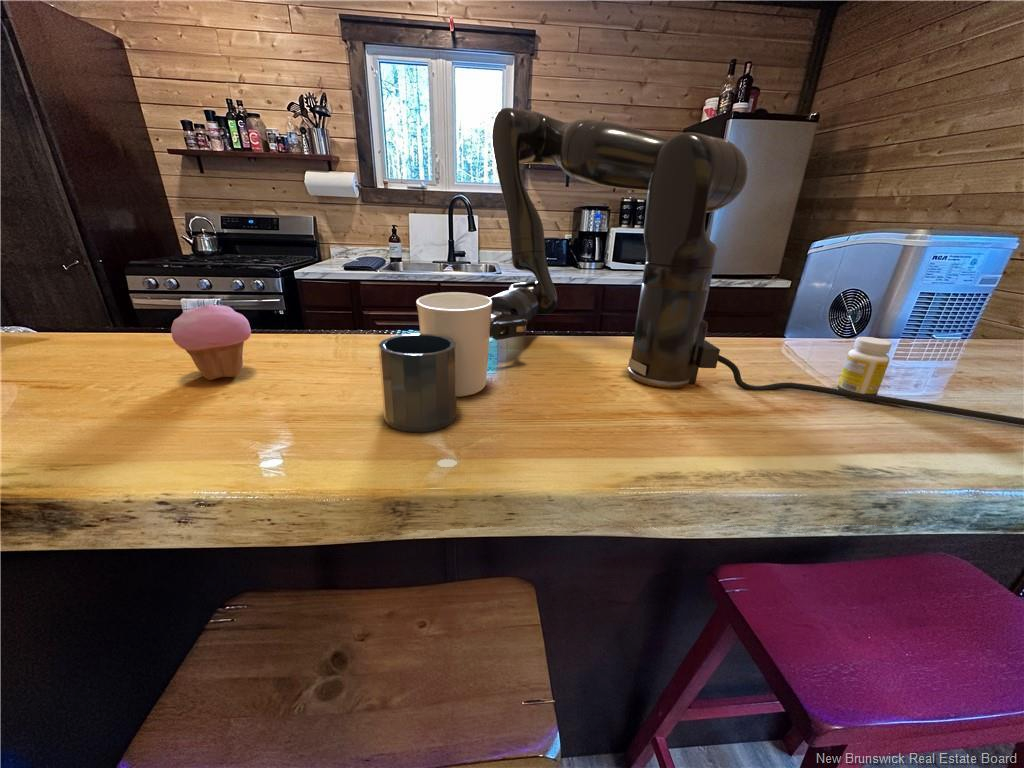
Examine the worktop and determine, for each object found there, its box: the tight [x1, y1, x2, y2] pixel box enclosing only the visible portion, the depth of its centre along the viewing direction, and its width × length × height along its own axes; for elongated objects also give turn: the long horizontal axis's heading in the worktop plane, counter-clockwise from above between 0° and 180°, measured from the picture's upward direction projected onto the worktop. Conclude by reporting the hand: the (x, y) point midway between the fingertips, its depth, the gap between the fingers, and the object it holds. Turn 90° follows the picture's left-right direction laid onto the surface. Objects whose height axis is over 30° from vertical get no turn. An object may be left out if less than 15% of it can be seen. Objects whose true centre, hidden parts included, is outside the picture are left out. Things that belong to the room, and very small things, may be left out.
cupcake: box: [170, 304, 252, 381], centre depth 59 cm, size 9×9×10 cm
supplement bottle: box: [836, 336, 893, 401], centre depth 63 cm, size 5×5×8 cm
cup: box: [378, 333, 458, 433], centre depth 51 cm, size 8×8×9 cm
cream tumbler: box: [415, 291, 492, 398], centre depth 59 cm, size 10×10×12 cm
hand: (467, 336), depth 63 cm, fingers closed
